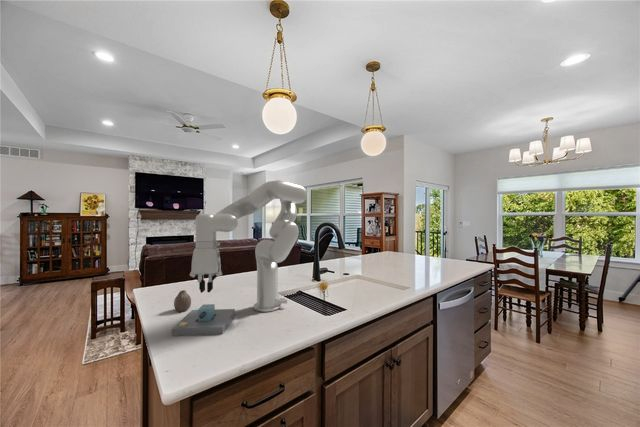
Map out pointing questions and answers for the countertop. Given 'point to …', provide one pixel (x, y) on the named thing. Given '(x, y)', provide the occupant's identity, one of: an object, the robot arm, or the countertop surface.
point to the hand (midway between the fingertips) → (206, 291)
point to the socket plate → (204, 323)
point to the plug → (206, 312)
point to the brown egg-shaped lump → (182, 301)
